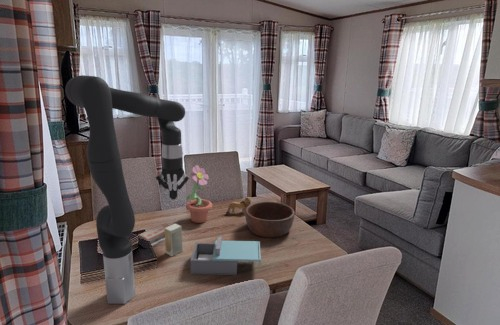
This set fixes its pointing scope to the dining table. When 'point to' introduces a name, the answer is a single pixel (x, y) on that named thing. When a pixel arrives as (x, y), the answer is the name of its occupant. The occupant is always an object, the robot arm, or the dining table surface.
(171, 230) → the skincare box
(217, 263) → the mailer box
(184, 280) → the dining table surface
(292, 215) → the wooden bowl
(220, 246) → the lid
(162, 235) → the packaged product
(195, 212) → the decorative flower
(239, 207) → the lion figurine
